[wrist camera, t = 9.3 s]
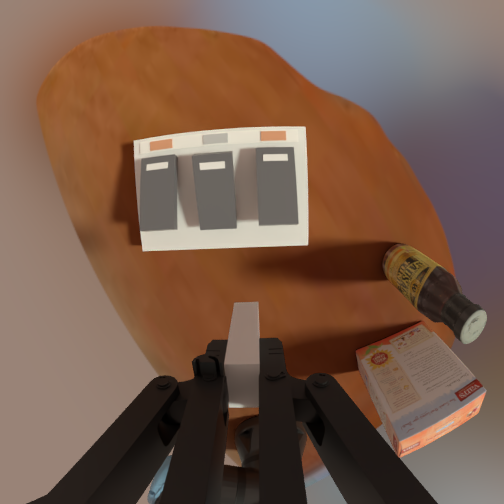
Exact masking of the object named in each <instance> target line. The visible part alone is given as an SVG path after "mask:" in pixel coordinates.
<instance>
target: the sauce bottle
mask: <svg viewBox="0 0 504 504" xmlns="http://www.w3.org/2000/svg"><path fill="white" fill-rule="evenodd" d="M383 272H384V274H385V275H386V277H387V279H388V280H389V281H390V282H391V283H392V284H393V285H394V286H395V287H396V288H397V289H398V290H399V291H400V292H401V293H402V294H403V295H404V296H405V297H406V298H407V299H408V300H409V301H410V302H411V303H412V304H413V306H414V307H415V308H416V309H417V310H418V311H419V312H421V313H422V314H424V315H425V316H426V317H428V318H429V319H430V320H432V321H433V322H443V323H444V324H445V325H447V326H448V327H449V328H450V329H451V330H452V331H453V332H454V335H455V337H456V338H457V339H459V340H460V341H461V342H462V343H464V344H467V343H470V342H472V341H473V340H475V339H476V338H477V337H478V336H479V335H480V333H481V332H482V330H483V328H484V326H485V324H486V319H487V316H486V313H485V311H484V310H483V309H482V308H481V307H480V306H479V305H477V304H473V303H472V302H471V301H470V300H468V299H467V298H466V296H465V295H463V294H462V288H461V286H460V284H459V282H458V280H457V279H456V278H455V277H454V276H453V275H452V274H450V273H449V272H447V270H446V269H445V268H443V267H442V266H440V265H439V264H437V263H436V262H434V261H433V260H431V259H430V258H428V257H427V256H425V255H424V254H422V253H421V252H419V251H418V250H416V249H414V248H413V247H411V246H408V245H406V244H396V245H394V246H392V247H391V248H390V249H389V250H388V251H387V252H386V254H385V255H384V258H383Z"/></svg>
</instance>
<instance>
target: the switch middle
mask: <svg viewBox="0 0 504 504" xmlns="http://www.w3.org/2000/svg"><path fill="white" fill-rule="evenodd" d="M192 164H193V174H194V183H195V192H196V200H197V209H198V217H199V224H200V230H215V229H237V210H236V196H235V181H234V166H233V151H224V152H211V153H200V154H194V155H192Z"/></svg>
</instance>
